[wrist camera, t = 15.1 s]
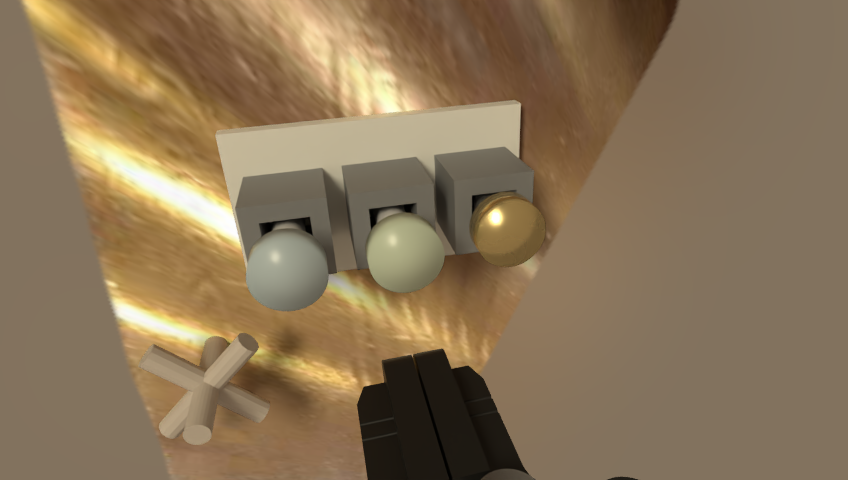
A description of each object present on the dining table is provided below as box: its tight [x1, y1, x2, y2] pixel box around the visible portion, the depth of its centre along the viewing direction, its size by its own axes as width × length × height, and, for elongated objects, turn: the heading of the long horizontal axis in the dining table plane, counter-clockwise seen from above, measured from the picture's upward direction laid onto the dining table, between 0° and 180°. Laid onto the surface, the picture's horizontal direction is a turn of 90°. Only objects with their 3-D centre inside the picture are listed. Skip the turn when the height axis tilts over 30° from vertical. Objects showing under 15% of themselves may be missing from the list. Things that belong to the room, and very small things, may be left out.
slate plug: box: [246, 217, 328, 311], centre depth 34 cm, size 5×5×8 cm
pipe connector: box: [138, 333, 270, 445], centre depth 41 cm, size 10×10×10 cm
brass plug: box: [469, 191, 546, 267], centre depth 38 cm, size 5×5×8 cm
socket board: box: [215, 100, 534, 274], centre depth 39 cm, size 12×22×7 cm, turn 93°
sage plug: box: [365, 205, 445, 293], centre depth 36 cm, size 5×5×8 cm
